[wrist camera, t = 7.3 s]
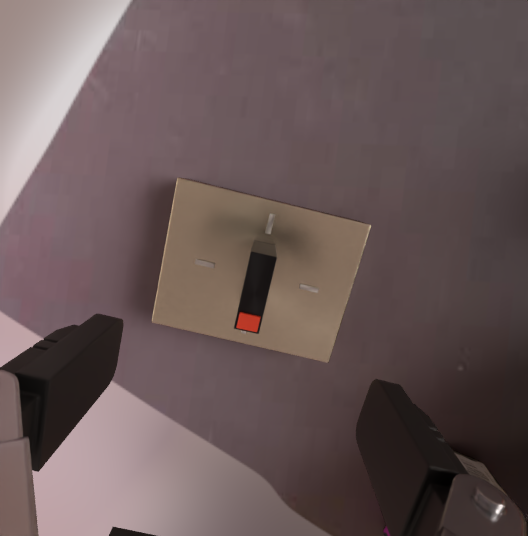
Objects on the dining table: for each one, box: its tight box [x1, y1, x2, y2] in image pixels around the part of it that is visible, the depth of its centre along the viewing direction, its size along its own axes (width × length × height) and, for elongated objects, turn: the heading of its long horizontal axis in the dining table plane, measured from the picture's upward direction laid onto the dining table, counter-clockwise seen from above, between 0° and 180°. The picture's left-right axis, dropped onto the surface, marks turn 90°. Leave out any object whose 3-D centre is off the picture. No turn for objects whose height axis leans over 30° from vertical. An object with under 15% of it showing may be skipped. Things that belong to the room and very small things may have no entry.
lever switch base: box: [152, 178, 371, 363], centre depth 27 cm, size 14×11×3 cm
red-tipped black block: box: [234, 241, 277, 334], centre depth 23 cm, size 5×2×5 cm, turn 167°
